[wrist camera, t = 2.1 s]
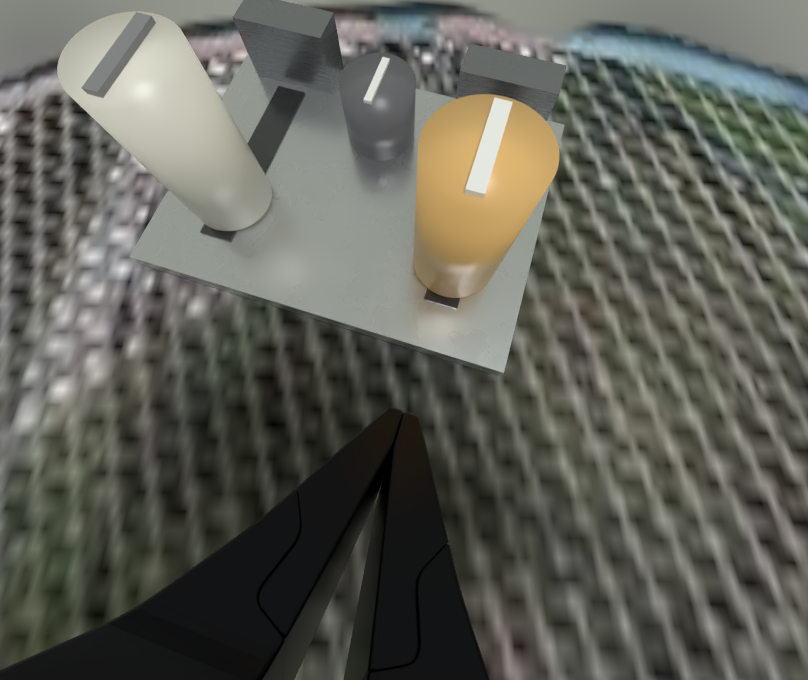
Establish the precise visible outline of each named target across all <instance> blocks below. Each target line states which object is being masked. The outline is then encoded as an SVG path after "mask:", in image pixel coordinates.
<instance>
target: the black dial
mask: <svg viewBox="0 0 808 680" xmlns="http://www.w3.org/2000/svg"><path fill="white" fill-rule="evenodd" d="M338 85H339V91H340V96H341V101H342V106H343V111H344V116H345V121H346V126H347V131H348V136H349V140H350V143H351V145H352V147H353V148H354V150H355V151H356V152H357V153H359V154H360V155H362V156H363V157H366V158H368V159H371V160H378V161H384V160H390V159H394V158H396V157H398V156H400V155H402V154H403V153H405V152H406V151H407V150H408V149H409V147H410V146H411V144H412V142H413V139H414V130H415V97H416V78H415V74H414V71H413V70H412V68H411V67H410V66H409V64H408V63H406V62H405V61H404V60H403V59H401V58H399V57H397V56H394V55H391V54H387V53H370V54H365V55H362V56H359V57H357V58H355V59H354V60H352V61H351V62H349V63H348V64H347V65H346V66H345V67H344V69H343V70H342V72H341V74H340V76H339V82H338Z"/></svg>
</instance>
